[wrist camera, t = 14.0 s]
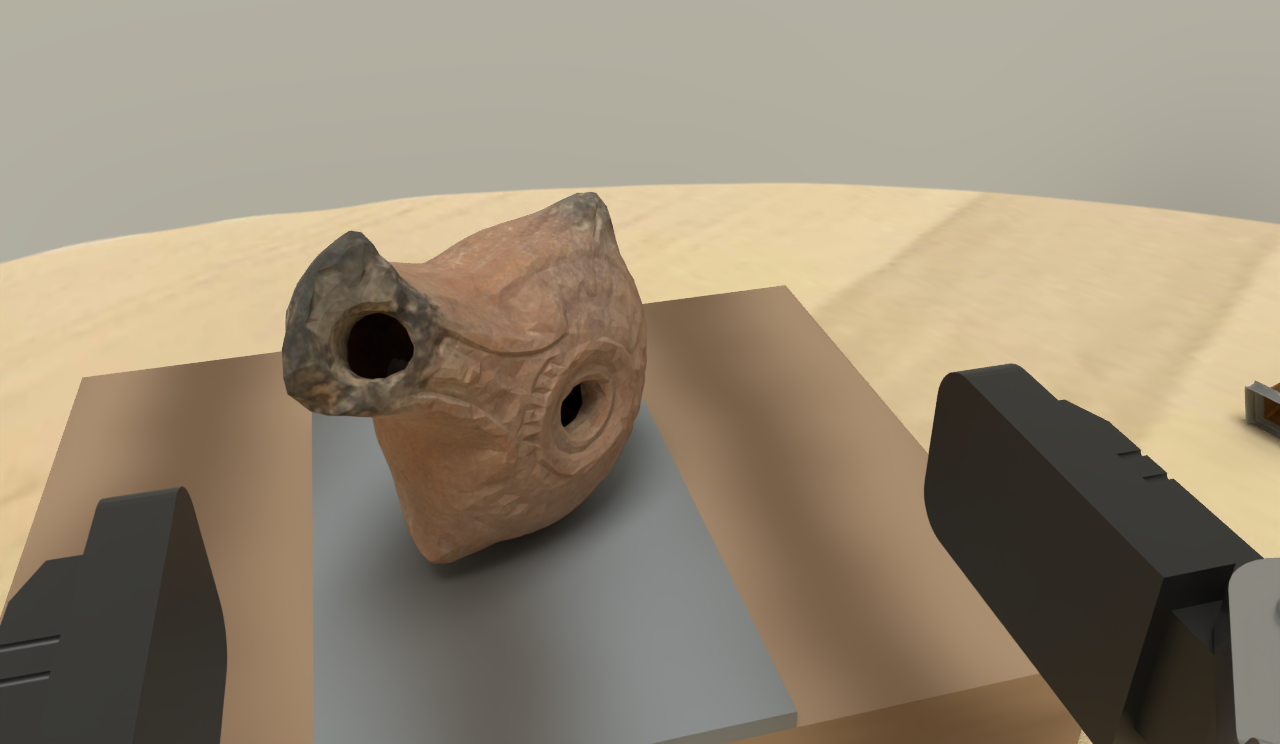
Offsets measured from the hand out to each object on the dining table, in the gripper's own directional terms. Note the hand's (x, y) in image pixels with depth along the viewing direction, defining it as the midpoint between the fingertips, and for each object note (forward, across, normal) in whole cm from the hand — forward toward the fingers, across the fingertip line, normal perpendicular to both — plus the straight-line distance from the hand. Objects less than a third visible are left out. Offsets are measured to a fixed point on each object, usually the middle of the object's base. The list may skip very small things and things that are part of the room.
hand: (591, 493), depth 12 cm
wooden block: (+11, 0, +11) cm, 15 cm away
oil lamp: (+9, 0, +8) cm, 12 cm away
